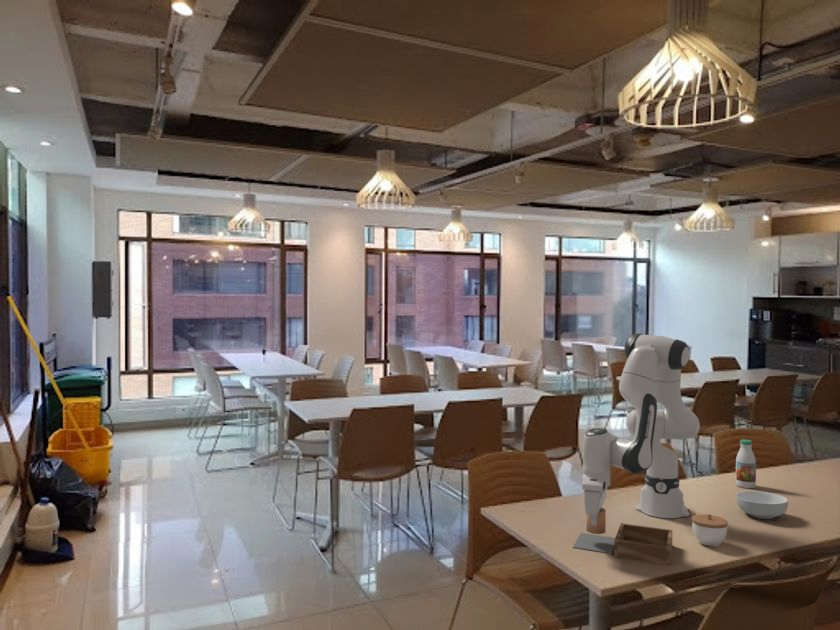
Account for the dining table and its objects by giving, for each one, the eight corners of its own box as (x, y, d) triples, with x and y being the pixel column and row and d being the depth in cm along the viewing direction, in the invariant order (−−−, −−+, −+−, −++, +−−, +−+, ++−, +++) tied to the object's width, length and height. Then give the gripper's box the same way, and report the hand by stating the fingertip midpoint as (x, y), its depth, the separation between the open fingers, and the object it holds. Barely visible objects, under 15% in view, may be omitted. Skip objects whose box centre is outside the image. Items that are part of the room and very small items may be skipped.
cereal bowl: (763, 507, 242) (763, 489, 242) (799, 521, 226) (799, 501, 226) (726, 510, 238) (726, 492, 238) (759, 525, 222) (759, 505, 222)
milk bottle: (731, 484, 274) (732, 438, 274) (748, 483, 275) (748, 438, 275) (742, 489, 266) (743, 442, 266) (759, 488, 267) (760, 441, 267)
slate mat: (580, 533, 213) (580, 532, 213) (617, 538, 208) (617, 538, 208) (572, 547, 201) (572, 546, 201) (611, 553, 196) (611, 552, 196)
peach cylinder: (588, 526, 208) (588, 505, 208) (606, 529, 206) (606, 507, 206) (585, 532, 203) (585, 510, 203) (604, 535, 200) (604, 513, 200)
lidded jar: (717, 536, 210) (717, 509, 210) (734, 549, 200) (734, 519, 200) (685, 537, 210) (685, 509, 210) (701, 549, 199) (701, 520, 199)
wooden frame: (620, 537, 209) (620, 523, 209) (672, 545, 203) (672, 530, 203) (614, 556, 194) (614, 540, 194) (669, 564, 187) (669, 548, 187)
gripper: (591, 470, 215) (591, 510, 215) (581, 485, 196) (580, 529, 196) (610, 472, 212) (610, 513, 212) (601, 488, 194) (601, 532, 194)
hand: (596, 521), depth 204 cm, fingers closed on peach cylinder, 6 cm apart
